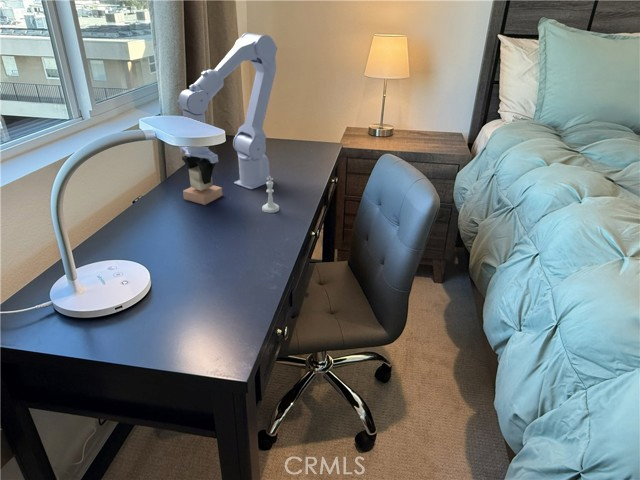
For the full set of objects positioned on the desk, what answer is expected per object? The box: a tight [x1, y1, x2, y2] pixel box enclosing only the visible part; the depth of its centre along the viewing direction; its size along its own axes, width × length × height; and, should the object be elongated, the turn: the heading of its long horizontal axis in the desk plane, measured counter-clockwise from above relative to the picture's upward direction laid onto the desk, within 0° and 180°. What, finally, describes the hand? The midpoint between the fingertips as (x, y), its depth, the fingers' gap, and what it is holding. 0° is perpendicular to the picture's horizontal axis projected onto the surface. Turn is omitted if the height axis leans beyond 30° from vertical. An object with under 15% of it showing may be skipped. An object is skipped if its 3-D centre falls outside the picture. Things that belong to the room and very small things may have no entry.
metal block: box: [188, 166, 213, 191], centre depth 130 cm, size 4×4×6 cm
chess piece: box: [261, 175, 280, 214], centre depth 125 cm, size 5×5×10 cm
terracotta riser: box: [182, 185, 223, 206], centre depth 133 cm, size 8×8×3 cm
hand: (201, 180), depth 131 cm, fingers closed on metal block, 4 cm apart
